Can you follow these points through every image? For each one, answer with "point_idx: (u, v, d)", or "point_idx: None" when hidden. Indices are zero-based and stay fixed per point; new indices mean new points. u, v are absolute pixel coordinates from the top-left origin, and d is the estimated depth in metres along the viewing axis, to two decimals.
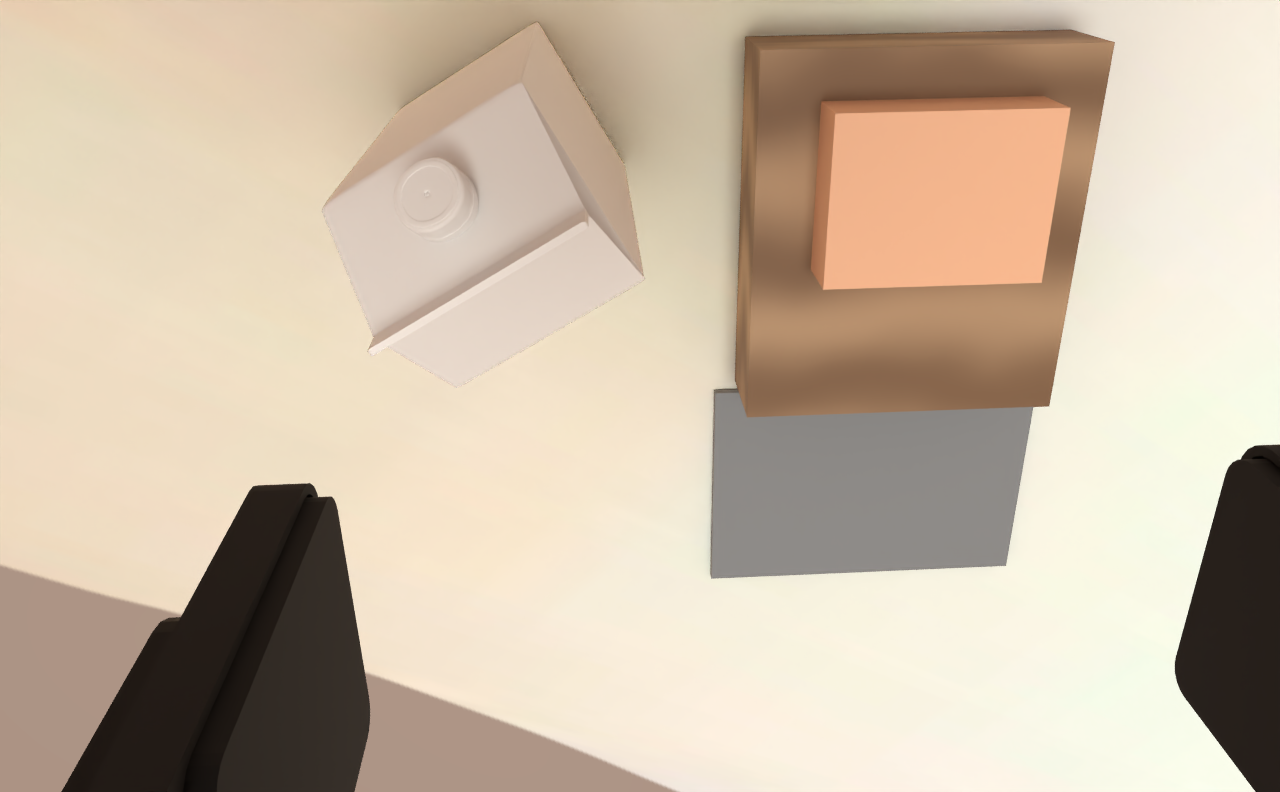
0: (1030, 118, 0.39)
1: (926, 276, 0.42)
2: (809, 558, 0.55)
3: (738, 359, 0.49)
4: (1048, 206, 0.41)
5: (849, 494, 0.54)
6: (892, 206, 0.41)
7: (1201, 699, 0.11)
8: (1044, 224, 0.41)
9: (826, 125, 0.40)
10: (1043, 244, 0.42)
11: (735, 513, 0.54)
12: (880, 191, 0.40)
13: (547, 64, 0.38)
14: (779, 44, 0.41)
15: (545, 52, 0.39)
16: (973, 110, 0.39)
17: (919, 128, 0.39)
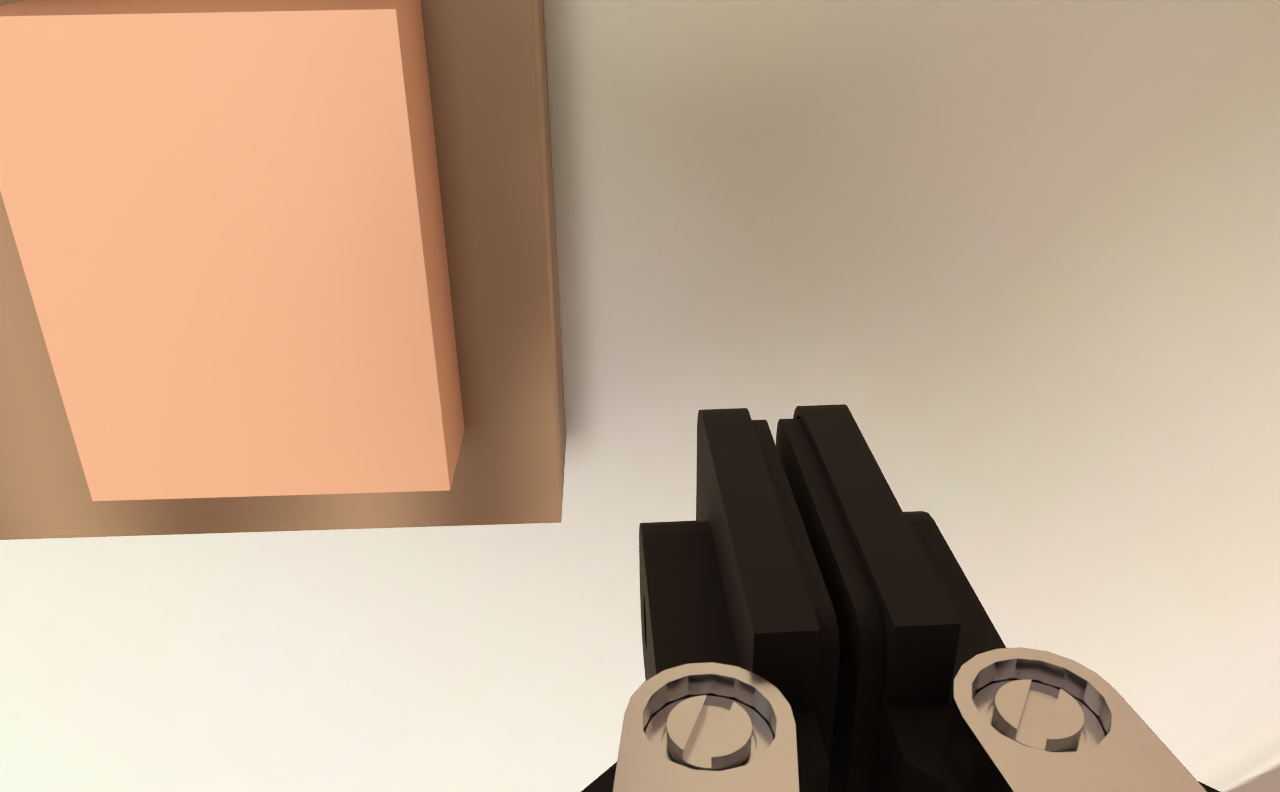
0: (423, 423, 0.20)
1: (47, 268, 0.18)
2: None
3: None
4: (253, 485, 0.20)
5: None
6: (197, 170, 0.18)
7: None
8: (216, 485, 0.20)
9: (367, 1, 0.18)
10: (174, 490, 0.20)
11: None
12: (229, 137, 0.17)
13: None
14: None
15: None
16: (429, 315, 0.19)
17: (381, 210, 0.18)
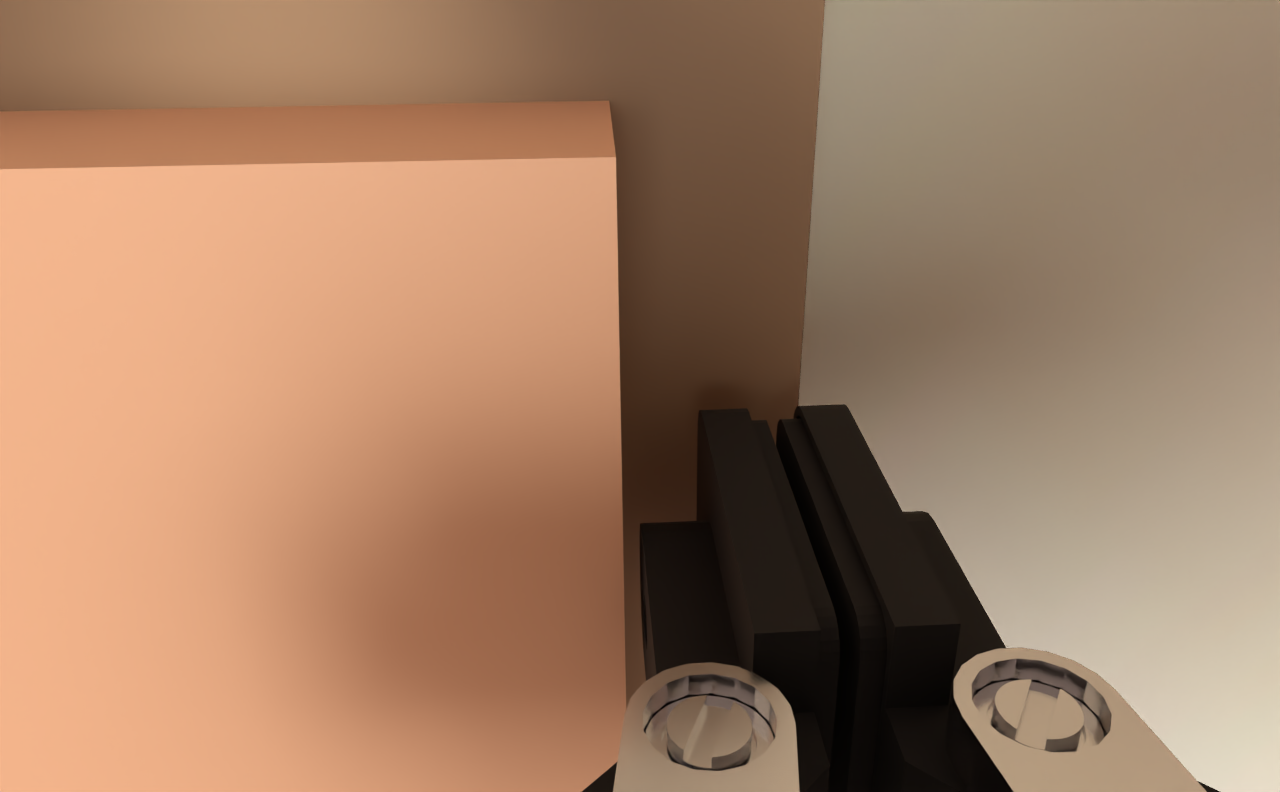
0: None
1: None
2: None
3: None
4: None
5: None
6: (222, 438, 0.09)
7: None
8: None
9: (534, 125, 0.10)
10: None
11: None
12: (283, 384, 0.09)
13: None
14: None
15: None
16: (623, 658, 0.11)
17: (555, 498, 0.10)
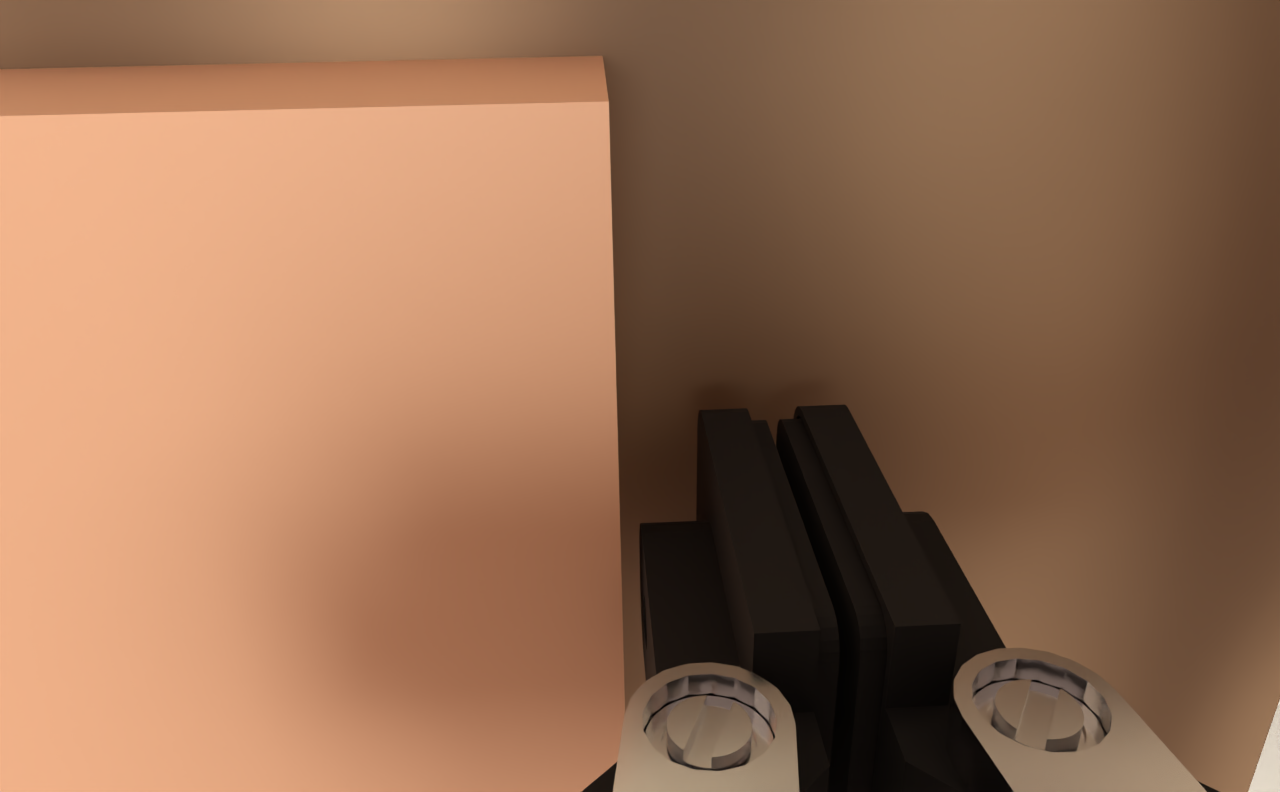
0: None
1: None
2: None
3: None
4: None
5: None
6: (209, 397, 0.09)
7: None
8: None
9: (526, 76, 0.10)
10: None
11: None
12: (271, 341, 0.09)
13: None
14: None
15: None
16: (621, 624, 0.11)
17: (549, 457, 0.10)
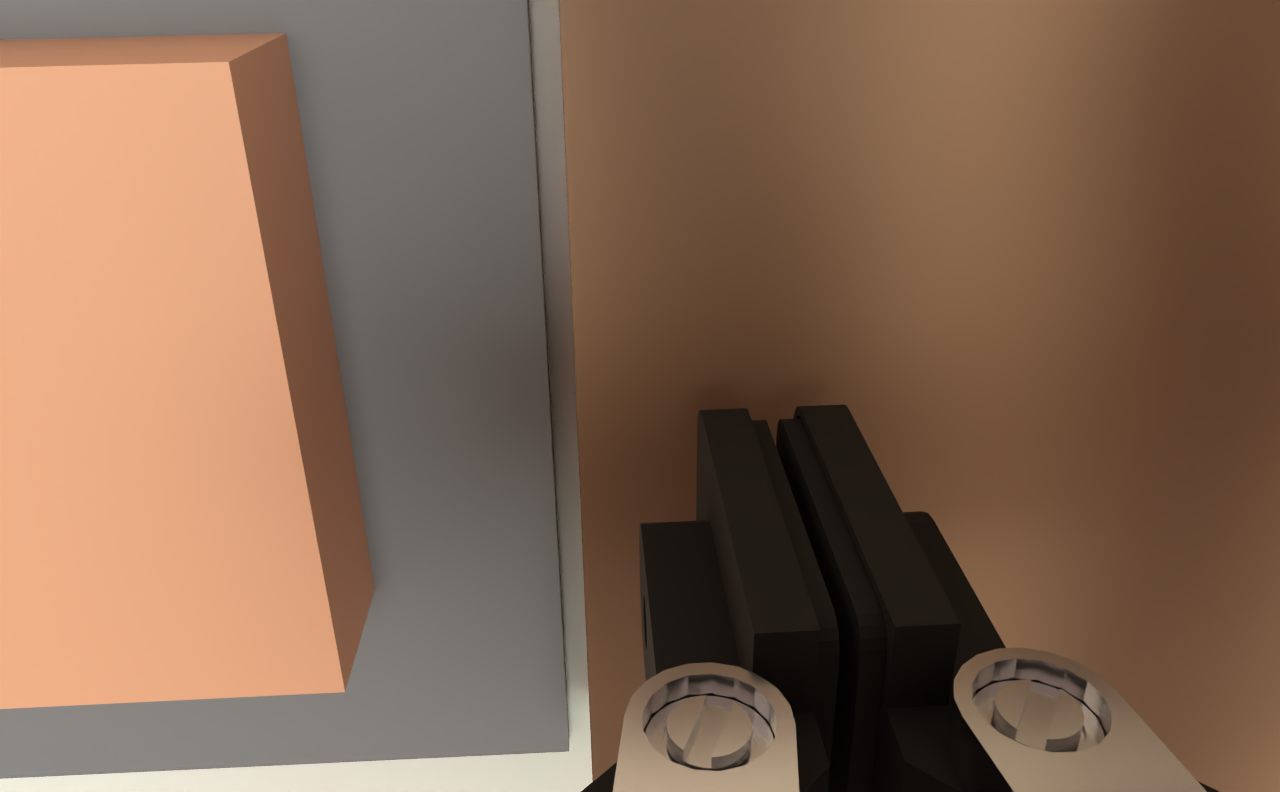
0: None
1: None
2: None
3: None
4: None
5: None
6: None
7: None
8: None
9: None
10: None
11: None
12: None
13: None
14: None
15: None
16: None
17: None
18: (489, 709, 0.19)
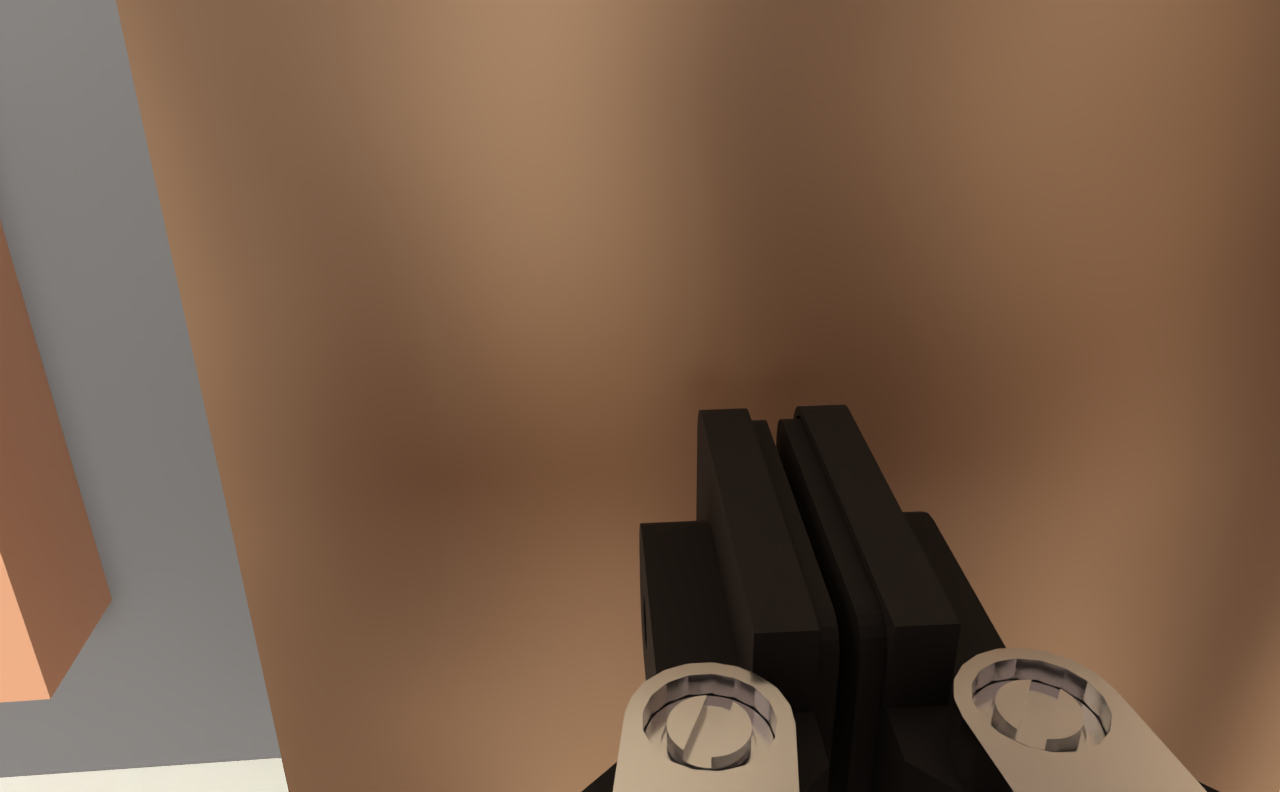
0: None
1: None
2: None
3: None
4: None
5: None
6: None
7: None
8: None
9: None
10: None
11: None
12: None
13: None
14: None
15: None
16: None
17: None
18: (242, 714, 0.19)
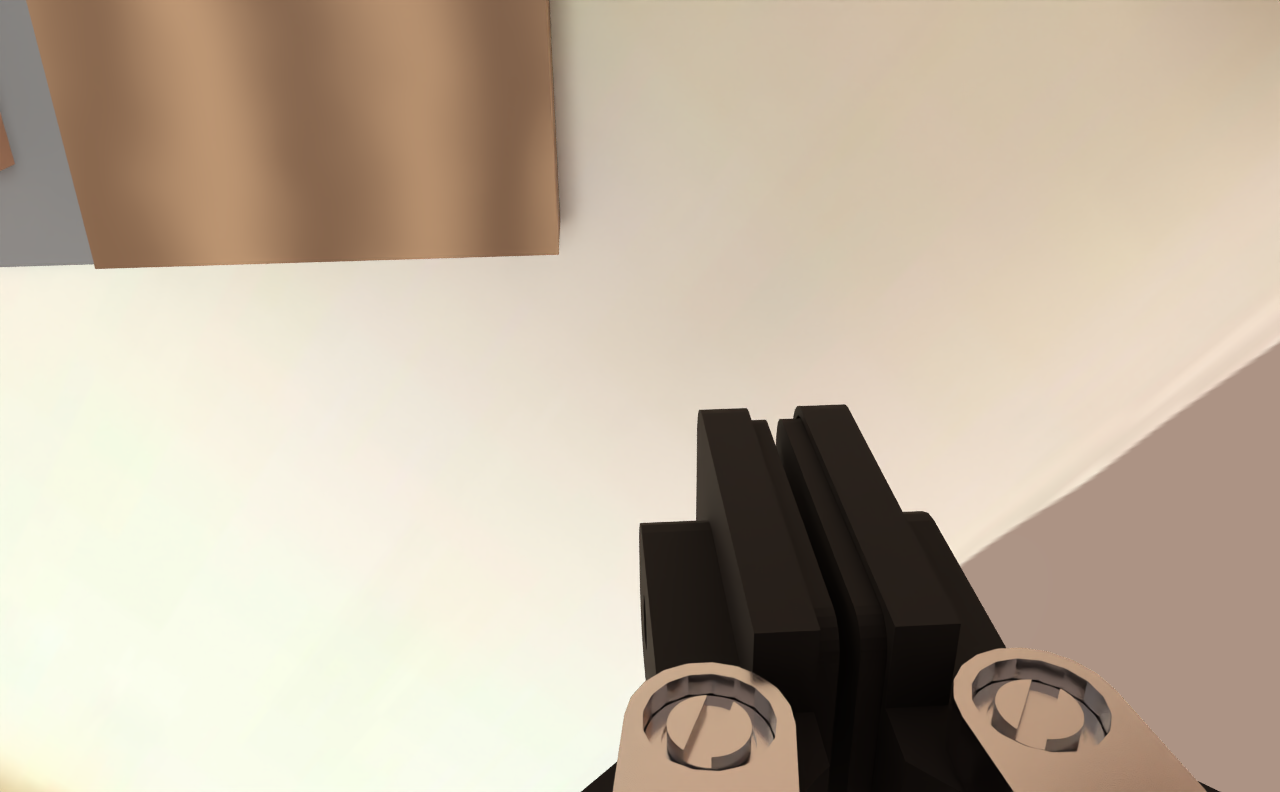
0: None
1: None
2: None
3: None
4: None
5: None
6: None
7: None
8: None
9: None
10: None
11: None
12: None
13: None
14: None
15: None
16: None
17: None
18: (82, 236, 0.39)
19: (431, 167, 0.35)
